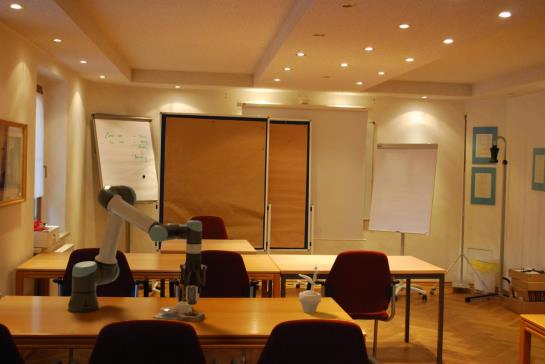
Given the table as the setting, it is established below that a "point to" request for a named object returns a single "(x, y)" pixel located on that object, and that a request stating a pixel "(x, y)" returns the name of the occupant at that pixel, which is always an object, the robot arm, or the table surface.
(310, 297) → the potted plant
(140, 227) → the robot arm
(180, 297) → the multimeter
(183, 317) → the brown square tray
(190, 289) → the cell
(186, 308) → the cup
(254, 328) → the table surface
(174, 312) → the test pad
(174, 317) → the base
